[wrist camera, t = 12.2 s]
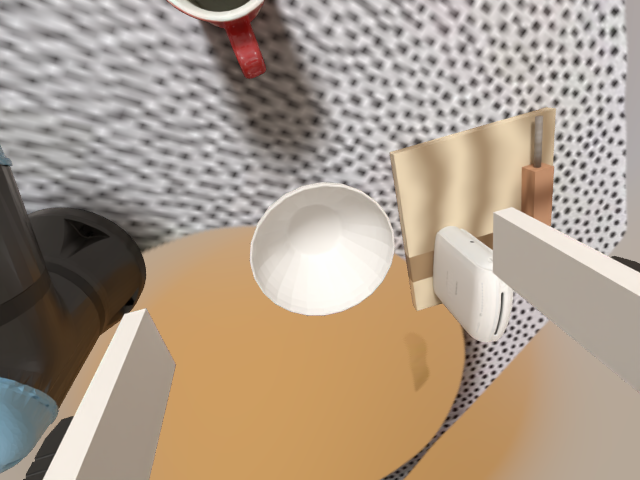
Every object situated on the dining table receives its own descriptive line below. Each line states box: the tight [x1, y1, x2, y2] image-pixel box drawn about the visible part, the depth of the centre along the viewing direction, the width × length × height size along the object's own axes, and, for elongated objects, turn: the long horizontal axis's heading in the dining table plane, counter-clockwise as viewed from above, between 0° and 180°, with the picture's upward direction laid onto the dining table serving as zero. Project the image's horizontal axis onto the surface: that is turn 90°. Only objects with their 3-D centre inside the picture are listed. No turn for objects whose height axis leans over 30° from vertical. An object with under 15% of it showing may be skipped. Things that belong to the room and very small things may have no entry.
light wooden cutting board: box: [390, 107, 556, 311], centre depth 48 cm, size 20×23×2 cm
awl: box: [521, 116, 554, 226], centre depth 45 cm, size 14×2×2 cm, turn 14°
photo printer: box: [433, 226, 513, 343], centre depth 44 cm, size 10×4×12 cm, turn 5°
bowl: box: [250, 182, 395, 316], centre depth 43 cm, size 16×16×7 cm
